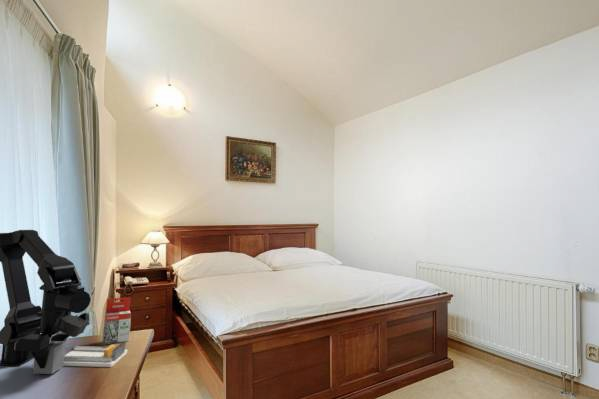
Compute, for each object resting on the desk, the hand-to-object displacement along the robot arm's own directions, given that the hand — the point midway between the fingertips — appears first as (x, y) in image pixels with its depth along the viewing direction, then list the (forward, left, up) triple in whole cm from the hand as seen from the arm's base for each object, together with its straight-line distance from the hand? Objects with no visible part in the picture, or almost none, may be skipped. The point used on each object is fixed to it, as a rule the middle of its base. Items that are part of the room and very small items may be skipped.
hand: (48, 364), depth 89 cm
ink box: (+7, +23, -2) cm, 24 cm away
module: (0, 0, -2) cm, 2 cm away
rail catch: (+12, +9, -1) cm, 15 cm away
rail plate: (+7, +9, -2) cm, 12 cm away
